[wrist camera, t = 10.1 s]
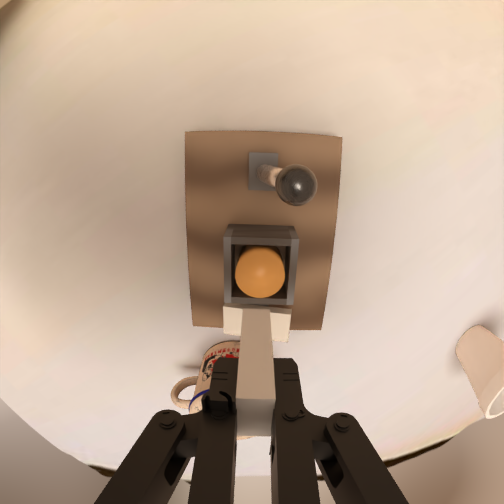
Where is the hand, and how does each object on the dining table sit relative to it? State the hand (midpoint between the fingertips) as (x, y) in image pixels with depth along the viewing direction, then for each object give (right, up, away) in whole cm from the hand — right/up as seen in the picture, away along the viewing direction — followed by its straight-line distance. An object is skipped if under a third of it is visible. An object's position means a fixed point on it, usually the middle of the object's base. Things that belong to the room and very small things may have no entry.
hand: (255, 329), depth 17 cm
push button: (+1, +4, +10) cm, 11 cm away
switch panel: (+1, +6, +13) cm, 15 cm away
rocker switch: (0, -2, +12) cm, 12 cm away
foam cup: (+34, -10, +19) cm, 40 cm away
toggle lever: (+1, +11, +7) cm, 13 cm away
